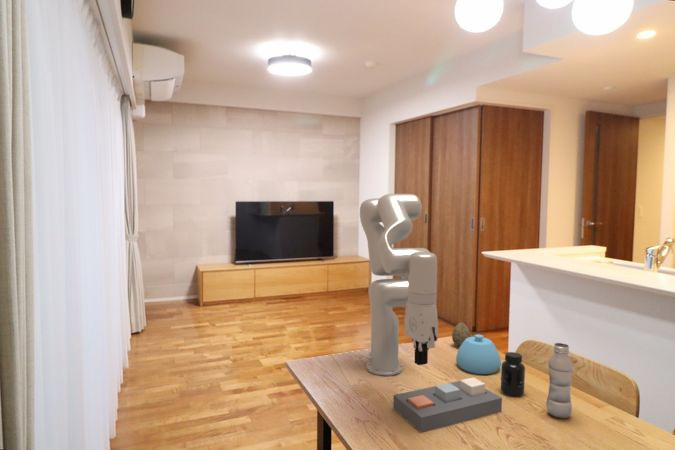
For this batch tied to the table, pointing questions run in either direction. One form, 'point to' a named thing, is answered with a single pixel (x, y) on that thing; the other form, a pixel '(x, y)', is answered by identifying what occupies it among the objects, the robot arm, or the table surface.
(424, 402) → the terracotta button
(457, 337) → the decorative egg
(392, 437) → the table surface
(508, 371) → the supplement bottle
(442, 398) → the light gray button
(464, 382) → the cream button
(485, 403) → the button panel
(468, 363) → the sugar bowl
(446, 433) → the table surface
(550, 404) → the plastic bottle
